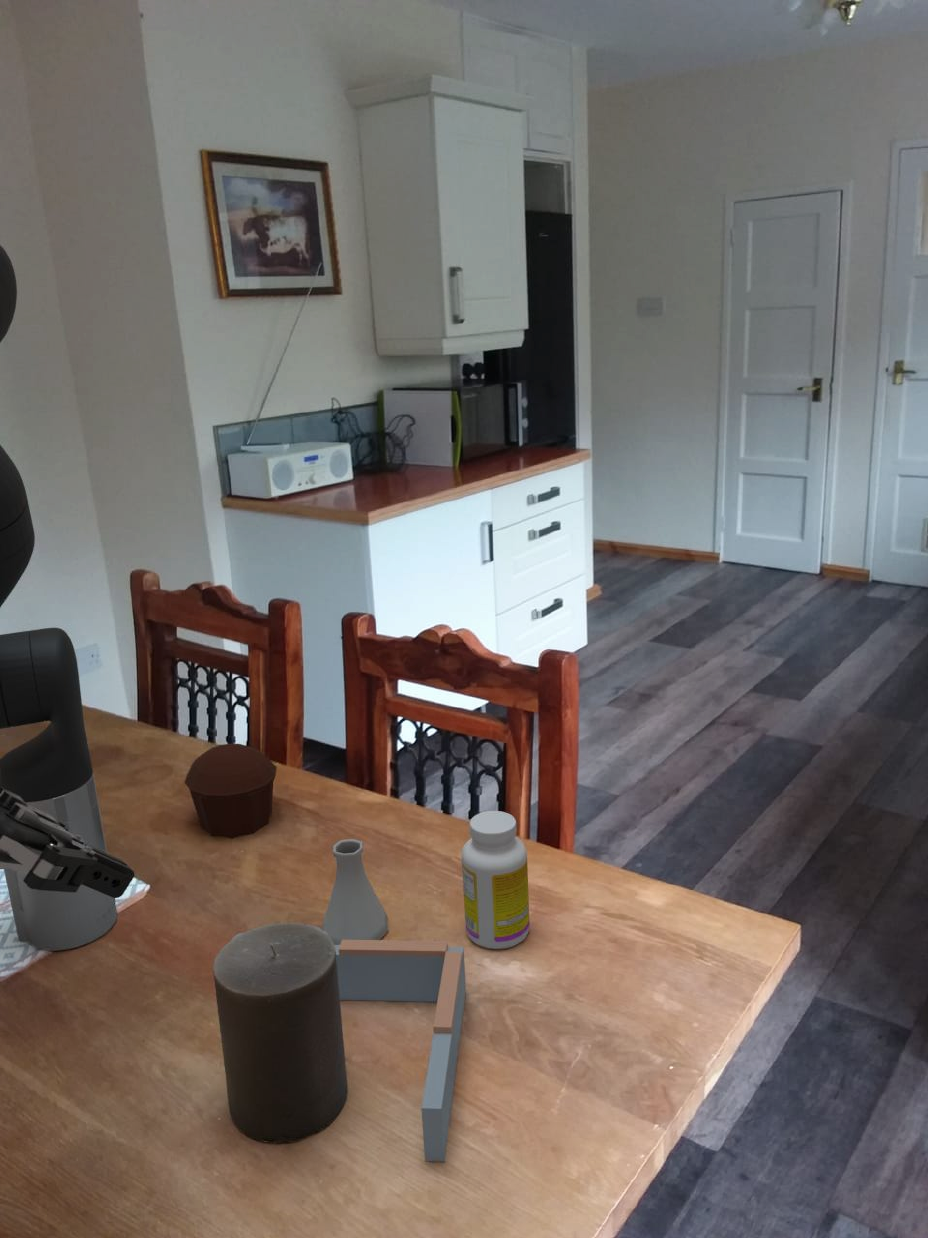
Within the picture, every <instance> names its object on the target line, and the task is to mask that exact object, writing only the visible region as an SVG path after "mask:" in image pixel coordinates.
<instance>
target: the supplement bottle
mask: <svg viewBox="0 0 928 1238" xmlns="http://www.w3.org/2000/svg"><path fill="white" fill-rule="evenodd" d="M517 830H518V829H517V820H516V818H515V817H514V815H512V814H510V813H507V812H505V811H500V810H487V811H483V812H480V813H477V814H475V815H474V816H473V817H472V818H471V819H470V820H469V835H470V837H471V838H470V839H468V840H467V842H466V843H465V844H464V846H463V847H462V851H461V871H462V885H463V886H462V888H463V889H462V890H463V903H464V905H463V906H464V907H463V908H464V922H465V931H466V935H467V936H468V938H469V939H470V940H471V941H472V942H473V943H474V944H477V945H478V946H480V947H483V948H487V949H491V950H493V949H495V950H498V949H499V950H501V949H508V948H512V947H514V946H516V945H518V944H520V943H522V941H524V940H525V939H526V938H527V935H528V933H529V931H530V902H529V901H530V900H529V897H530V896H529V874H528V851H527V847H526V845H525V844H524V842H523V841H522V840H521V839H520V838H519V837H517Z"/></svg>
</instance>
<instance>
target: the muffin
mask: <svg viewBox="0 0 928 1238" xmlns="http://www.w3.org/2000/svg"><path fill="white" fill-rule="evenodd" d="M276 776H277V766H276V764H274V763H273V762H272V760H270V759H269V758H268V757H267V756H266V755H265V754H263V753H262V752H261V751H260V750H259V749H257V748H255V747H252V746H248V745H245V744H241V743H226V744H225V743H224V744H219V745H216V746H213V747H211V748H208V750H206V751H205V752H204V753H202V754H201V755H200V756H198V757H196V759H195V760H194V761H193V763H191V765H190V768H189V770H188V772H187V774H186V777H185V779H184V784H185V785H186V787H187V788H188V790H189V793H190V796H191V799H192V802H193V805H194V808H195V811H196V814H197V818H198V820H199V824H200V826H201V829H202V830H203V831H205V832H207V834H208V835H210V836H211V837H214V838H215V837H216V838H225V839H231V840H232V839H235V838H240V837H242V836H249V835H254V834H255V833H257V832H258V831H259V830H261V829H262V828H264V827H266V826H268V825H270V818H271V816H272V814H273V813H272V811H273V796H274V794H273V793H274V780H275V778H276Z"/></svg>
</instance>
